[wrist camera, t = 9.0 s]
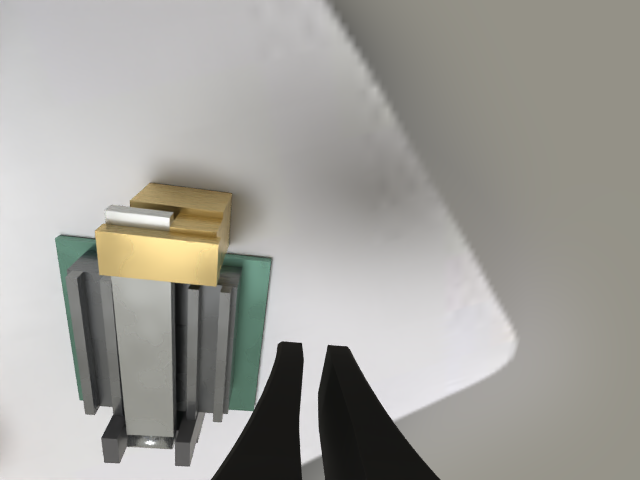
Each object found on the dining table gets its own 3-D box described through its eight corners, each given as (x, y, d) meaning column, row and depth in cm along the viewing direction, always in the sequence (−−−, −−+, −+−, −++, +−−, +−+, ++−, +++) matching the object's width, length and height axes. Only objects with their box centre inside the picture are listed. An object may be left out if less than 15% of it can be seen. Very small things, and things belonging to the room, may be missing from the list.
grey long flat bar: (112, 202, 16) (102, 212, 15) (175, 210, 16) (168, 220, 15) (133, 434, 22) (126, 450, 22) (177, 436, 23) (172, 453, 22)
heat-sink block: (59, 235, 20) (22, 263, 17) (271, 258, 21) (267, 288, 19) (82, 395, 25) (56, 436, 22) (254, 406, 26) (249, 446, 23)
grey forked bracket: (132, 375, 24) (101, 438, 20) (207, 381, 25) (190, 442, 21) (134, 406, 26) (105, 470, 22) (205, 410, 26) (189, 474, 22)
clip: (139, 181, 19) (93, 219, 15) (236, 193, 20) (218, 233, 15) (142, 236, 20) (100, 285, 16) (232, 246, 21) (215, 296, 16)
